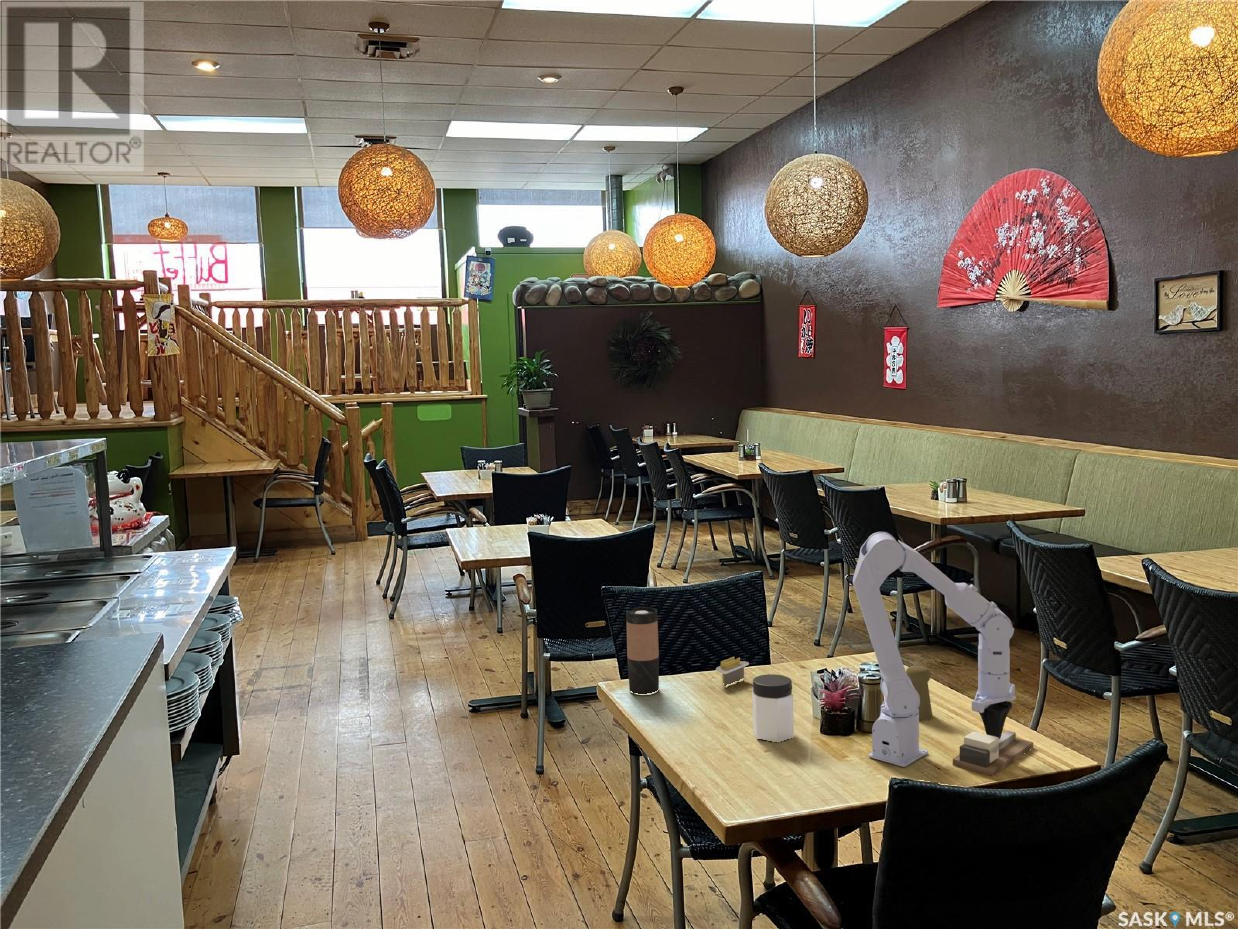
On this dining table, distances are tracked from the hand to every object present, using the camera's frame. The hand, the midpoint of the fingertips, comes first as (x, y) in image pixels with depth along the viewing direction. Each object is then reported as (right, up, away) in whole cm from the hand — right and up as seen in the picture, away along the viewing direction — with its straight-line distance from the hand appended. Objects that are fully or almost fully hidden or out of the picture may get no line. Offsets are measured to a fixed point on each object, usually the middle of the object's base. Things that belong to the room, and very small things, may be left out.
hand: (993, 738), depth 186 cm
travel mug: (-67, -2, +47) cm, 82 cm away
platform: (-45, -1, +50) cm, 67 cm away
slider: (-4, -3, -4) cm, 6 cm away
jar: (-41, -4, +15) cm, 44 cm away
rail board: (0, -4, 0) cm, 4 cm away
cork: (-7, -2, +24) cm, 25 cm away
